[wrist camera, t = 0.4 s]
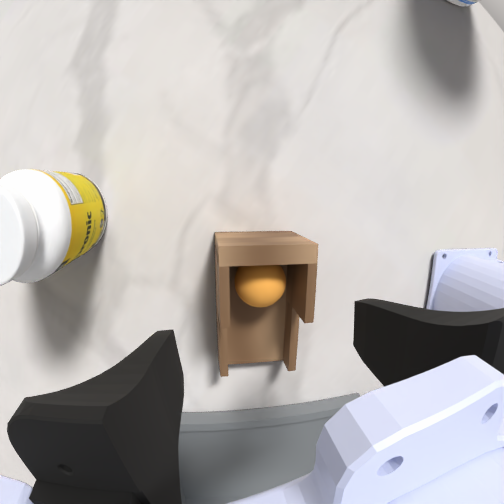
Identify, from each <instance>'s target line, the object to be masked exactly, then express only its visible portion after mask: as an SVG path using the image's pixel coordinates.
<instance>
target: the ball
mask: <svg viewBox="0 0 504 504" xmlns="http://www.w3.org/2000/svg"><path fill="white" fill-rule="evenodd" d="M234 283H235V289H236V292H237V294H238V296H239V297H240V298H241V299H242V300H243V301H244V302H245V303H247V304H248V305H250V306H254V307H267V306H270V305H272V304H274V303H275V302H277V301H278V300H279V299H280V298H281V296H282V295H283V293H284V290H285V287H286V277H285V273H284V271H283V269H282V267H281V266H280V265H257V266H239V268H238V270H237V272H236V274H235V280H234Z"/></svg>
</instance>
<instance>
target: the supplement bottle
mask: <svg viewBox="0 0 504 504" xmlns="http://www.w3.org/2000/svg"><path fill="white" fill-rule="evenodd" d="M106 223H107V205H106V201H105V198H104V196H103V194H102V192H101V190H100V189H99V187H98V186H97V185H96V184H95V183H94V182H93V181H92V180H90V179H89V178H87V177H85V176H83V175H80V174H76V173H67V172H56V171H45V170H34V169H23V170H17V171H13V172H11V173H9V174H7V175H5V176H4V177H2V178H1V179H0V286H1V285H4V284H6V283H8V282H10V281H12V280H14V281H16V282H21V283H32V282H37V281H40V280H42V279H44V278H46V277H48V276H50V275H51V274H53V273H54V272H56V271H57V270H59V269H60V268H62V267H63V266H65V265H67V264H68V263H70V262H71V261H73V260H75V259H76V258H78V257H79V256H81V255H83V254H85V253H86V252H87V251H89V250H90V249H92V248H93V247H94V246H95V245H96V244H97V243H98V241H99V240H100V238H101V237H102V235H103V233H104V230H105V227H106Z"/></svg>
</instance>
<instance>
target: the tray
mask: <svg viewBox="0 0 504 504" xmlns="http://www.w3.org/2000/svg"><path fill="white" fill-rule="evenodd" d="M358 397H360V395H359V394H358V393H355V394H350V395H345V396H340V397H335V398H330V399H324V400H318V401H312V402H306V403H299V404H292V405H284V406H276V407H267V408H257V409H246V410H233V411H216V412H183V413H182V415H181V423H180V432H179V443H178V455H179V477H180V491H181V501H182V504H226V503H230V502H233V501H236V500H240V499H243V498H246V497H249V496H252V495H255V494H258V493H261V492H264V491H267V490H269V489H272V488H275V487H277V486H280V485H282V484H285V483H288V482H290V481H292V480H295V479H297V478H300V477H302V476H304V475H307V474H309V473H310V472H312V471H313V469H314V465H315V460H316V444H317V441H318V439H319V436H320V434H321V432H322V429H323V427H324V424H325V423H326V422H327V421H328V420H329V419H330V418H332V417H333V416H334V415H335V414H336V413H337V412H338V411H339V410H340V409H341V408H342V407H343V406H344V405H345V404H346V403H348V402H350V401H352V400H354V399H356V398H358Z"/></svg>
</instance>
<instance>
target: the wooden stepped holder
mask: <svg viewBox="0 0 504 504" xmlns="http://www.w3.org/2000/svg"><path fill="white" fill-rule="evenodd" d="M317 258H318V244H317V243H315V242H313V241H311V240H309V239H307V238H305V237H302V236H300V235H298V234H296V233H294V232H292V231H256V232H215V280H216V314H217V340H218V359H219V367H220V375H221V377H222V376H228V364H243V363H256V362H268V361H279V360H283V361H284V363H285V366H286V368H287V370H288V371H293V370H295V369H296V356H297V343H298V329H299V317H300V318H301V319H302V320H303V322H304V323H312V322H313V319H314V307H315V292H316V276H317ZM257 265H280V266H281V267H282V269H283V271H284V273H285V277H286V287H285V290H284V293H283V295H282V296H281V298H280V299H279V300H278V301H277V302H275V303H274V304H272V305H270V306H267V307H254V306H250V305H248V304H247V303H245V302H244V301H243V300H242V299H241V298H240V297H239V296H238V294H237V292H236V289H235V283H234V280H235V274H236V272H237V270H238V268H239V266H257Z"/></svg>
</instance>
